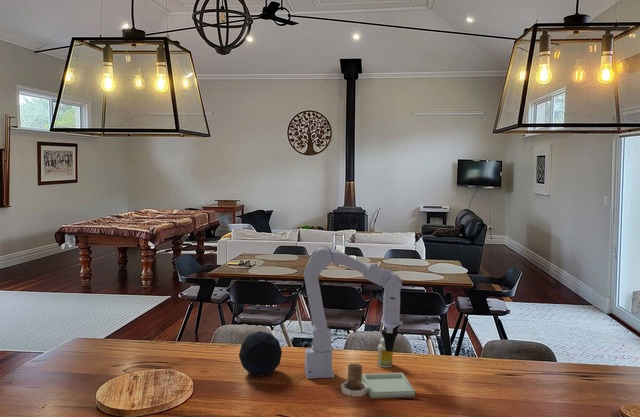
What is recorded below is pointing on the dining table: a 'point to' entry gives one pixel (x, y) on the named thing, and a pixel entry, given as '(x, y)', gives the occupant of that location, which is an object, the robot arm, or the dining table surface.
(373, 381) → the tray
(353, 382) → the walnut canister
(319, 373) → the robot arm
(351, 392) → the holder ring
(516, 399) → the dining table surface
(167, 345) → the dining table surface
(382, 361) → the supplement bottle
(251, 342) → the decorative orb
